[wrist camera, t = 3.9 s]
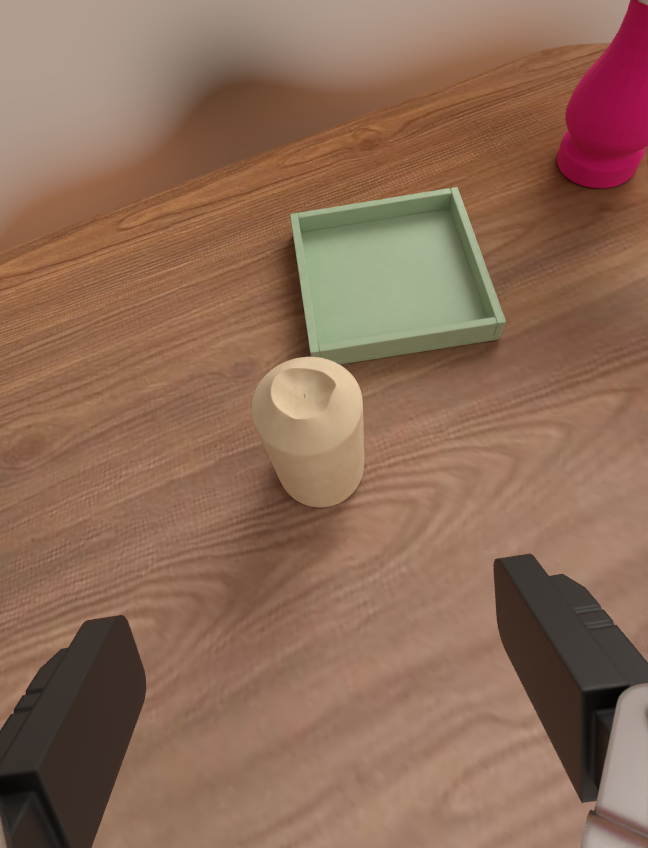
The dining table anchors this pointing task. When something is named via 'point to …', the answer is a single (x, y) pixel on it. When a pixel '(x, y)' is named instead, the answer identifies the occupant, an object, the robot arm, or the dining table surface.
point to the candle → (312, 429)
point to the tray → (393, 278)
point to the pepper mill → (610, 110)
